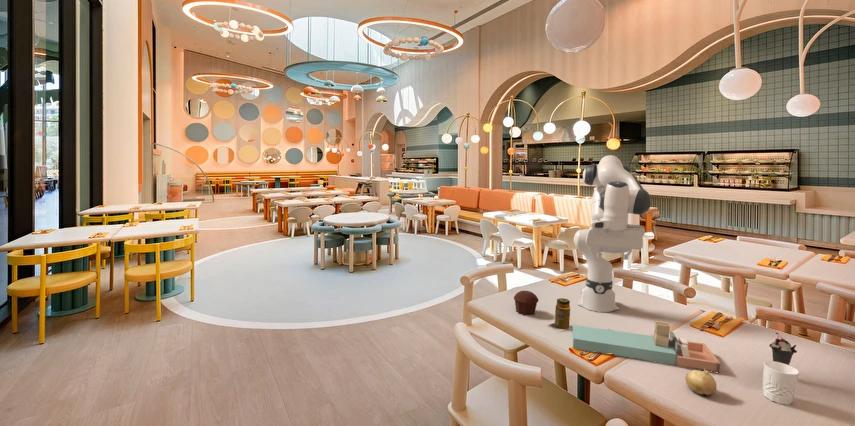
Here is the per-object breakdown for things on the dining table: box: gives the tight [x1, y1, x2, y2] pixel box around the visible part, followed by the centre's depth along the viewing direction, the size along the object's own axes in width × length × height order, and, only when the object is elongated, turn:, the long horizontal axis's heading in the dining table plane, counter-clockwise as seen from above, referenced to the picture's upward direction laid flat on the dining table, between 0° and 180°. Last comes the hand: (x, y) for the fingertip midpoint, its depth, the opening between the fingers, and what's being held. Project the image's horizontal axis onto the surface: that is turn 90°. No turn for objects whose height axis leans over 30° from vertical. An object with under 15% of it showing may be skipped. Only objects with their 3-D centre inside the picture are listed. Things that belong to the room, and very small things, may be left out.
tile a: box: [678, 337, 688, 356], centre depth 144 cm, size 5×5×2 cm
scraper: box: [653, 320, 681, 354], centre depth 143 cm, size 12×7×8 cm, turn 159°
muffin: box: [513, 290, 539, 316], centre depth 185 cm, size 12×11×10 cm
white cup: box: [761, 360, 800, 405], centre depth 117 cm, size 8×8×10 cm
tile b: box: [680, 344, 690, 358], centre depth 138 cm, size 5×5×2 cm
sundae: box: [768, 332, 798, 366], centre depth 129 cm, size 7×7×15 cm
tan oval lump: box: [685, 368, 717, 396], centre depth 120 cm, size 8×8×7 cm
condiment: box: [547, 297, 573, 332], centre depth 168 cm, size 7×8×12 cm
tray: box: [669, 338, 721, 374], centre depth 141 cm, size 16×12×4 cm
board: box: [572, 324, 677, 366], centre depth 149 cm, size 14×34×4 cm, turn 70°
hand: (612, 258), depth 152 cm, fingers open, 8 cm apart
